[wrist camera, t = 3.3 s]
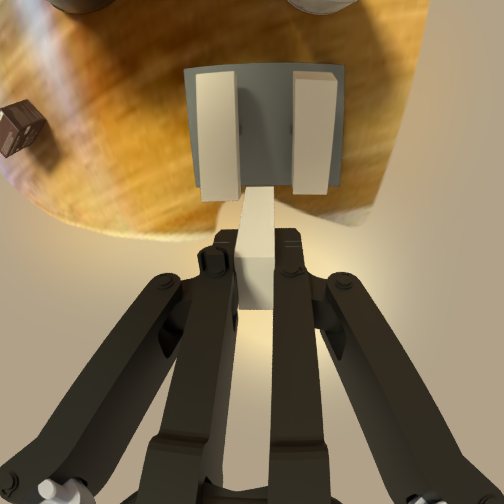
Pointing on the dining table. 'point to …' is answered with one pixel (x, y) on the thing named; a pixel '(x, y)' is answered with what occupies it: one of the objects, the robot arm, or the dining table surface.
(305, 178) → the switch right
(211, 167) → the switch left
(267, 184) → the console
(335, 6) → the supplement tub
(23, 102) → the box
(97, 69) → the dining table surface
